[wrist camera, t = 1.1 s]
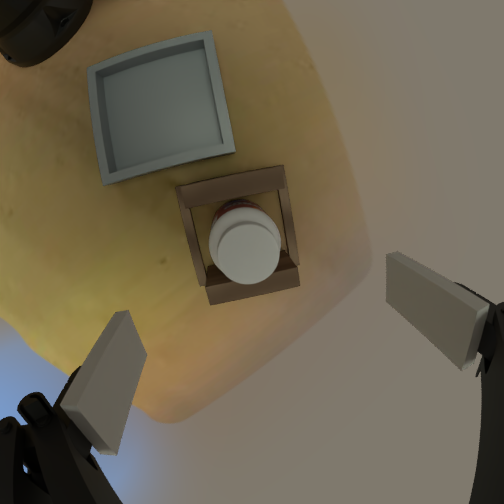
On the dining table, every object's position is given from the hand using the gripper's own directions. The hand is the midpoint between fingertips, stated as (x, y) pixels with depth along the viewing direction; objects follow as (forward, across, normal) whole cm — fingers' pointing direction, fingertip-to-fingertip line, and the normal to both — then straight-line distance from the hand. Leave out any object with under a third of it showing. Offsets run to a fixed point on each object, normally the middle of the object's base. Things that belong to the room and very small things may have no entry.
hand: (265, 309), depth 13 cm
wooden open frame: (+19, 0, 0) cm, 19 cm away
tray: (+19, -6, +15) cm, 25 cm away
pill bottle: (+19, 0, 0) cm, 19 cm away
